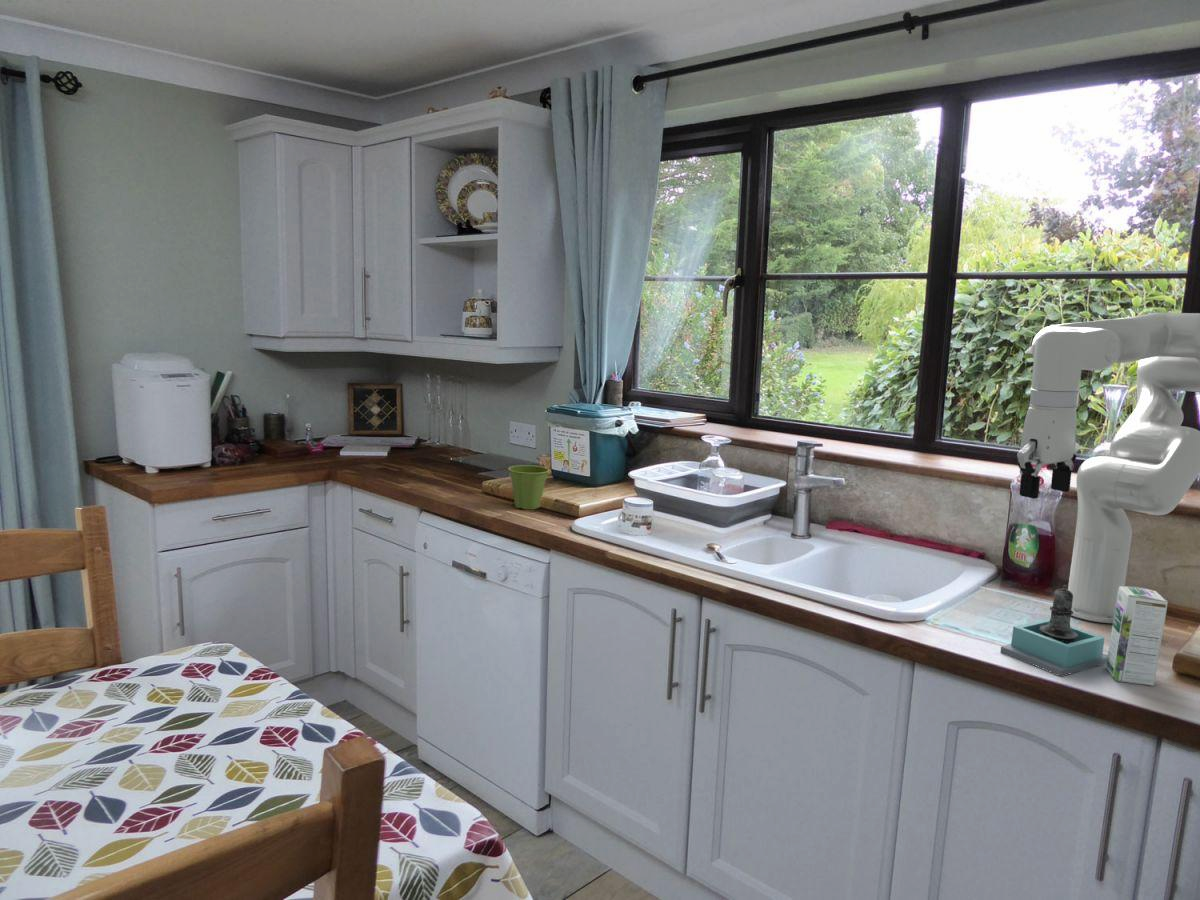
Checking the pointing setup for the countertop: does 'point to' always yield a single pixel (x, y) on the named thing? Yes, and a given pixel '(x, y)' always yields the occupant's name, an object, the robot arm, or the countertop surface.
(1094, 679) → the countertop surface
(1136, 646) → the syrup box
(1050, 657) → the box
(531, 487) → the plant pot
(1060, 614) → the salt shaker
